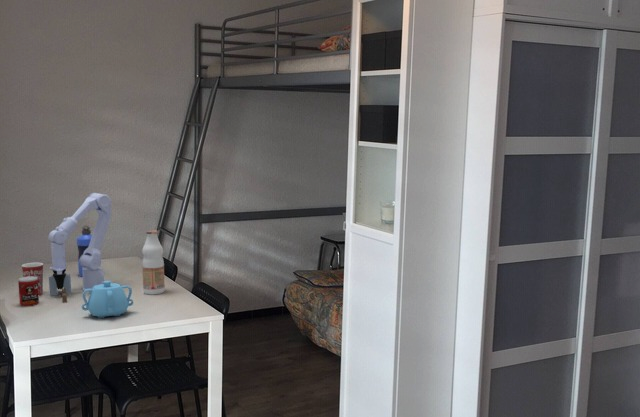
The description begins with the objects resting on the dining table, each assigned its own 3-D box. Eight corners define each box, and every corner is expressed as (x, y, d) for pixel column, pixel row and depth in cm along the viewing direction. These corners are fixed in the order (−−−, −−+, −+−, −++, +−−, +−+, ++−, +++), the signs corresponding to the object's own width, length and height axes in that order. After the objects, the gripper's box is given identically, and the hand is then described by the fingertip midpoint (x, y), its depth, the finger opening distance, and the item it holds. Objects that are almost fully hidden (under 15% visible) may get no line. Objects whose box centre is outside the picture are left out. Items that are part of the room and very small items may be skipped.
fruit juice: (141, 295, 320) (139, 232, 316) (145, 289, 329) (143, 229, 326) (162, 294, 320) (160, 232, 317) (166, 289, 330) (164, 229, 326)
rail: (66, 295, 319) (65, 289, 319) (66, 302, 308) (66, 295, 308) (62, 296, 319) (62, 289, 319) (62, 302, 308) (62, 295, 307)
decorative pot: (108, 322, 278) (106, 288, 277) (78, 316, 286) (76, 283, 284) (137, 312, 293) (136, 279, 291) (108, 307, 300) (107, 275, 298)
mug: (44, 295, 320) (42, 265, 318) (22, 297, 317) (20, 267, 315) (45, 289, 332) (44, 260, 330) (24, 290, 329) (23, 261, 327)
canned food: (20, 307, 301) (19, 281, 300) (18, 302, 308) (17, 277, 307) (40, 304, 304) (38, 279, 303) (38, 300, 311) (36, 275, 310)
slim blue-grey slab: (71, 292, 325) (70, 274, 324) (71, 293, 323) (70, 275, 322) (49, 294, 322) (48, 275, 321) (49, 295, 320) (48, 276, 319)
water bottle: (102, 274, 361) (99, 225, 358) (87, 278, 353) (84, 227, 350) (89, 272, 366) (87, 223, 363) (74, 276, 358) (72, 226, 355)
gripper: (49, 254, 326) (50, 284, 327) (48, 260, 312) (50, 291, 314) (65, 253, 328) (67, 282, 330) (66, 259, 315) (67, 290, 316)
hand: (60, 287), depth 322 cm, fingers open, 7 cm apart
